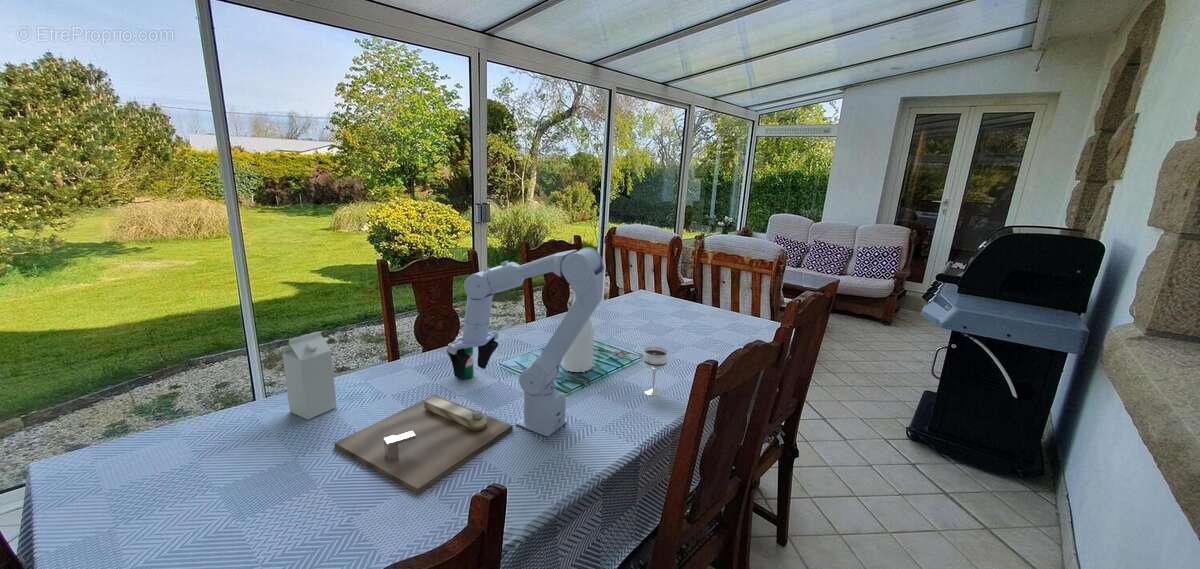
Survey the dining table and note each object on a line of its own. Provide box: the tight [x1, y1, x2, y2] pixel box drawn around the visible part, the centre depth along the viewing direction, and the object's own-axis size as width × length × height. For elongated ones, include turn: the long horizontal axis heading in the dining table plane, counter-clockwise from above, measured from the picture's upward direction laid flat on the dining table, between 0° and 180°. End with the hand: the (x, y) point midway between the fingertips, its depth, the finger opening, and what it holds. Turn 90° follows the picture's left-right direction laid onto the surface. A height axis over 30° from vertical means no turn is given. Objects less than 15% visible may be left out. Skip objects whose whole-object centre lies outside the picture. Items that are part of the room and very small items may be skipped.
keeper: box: [384, 431, 416, 461], centre depth 92 cm, size 6×2×4 cm, turn 130°
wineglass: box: [642, 346, 669, 396], centre depth 126 cm, size 7×7×12 cm
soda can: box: [454, 334, 475, 380], centre depth 130 cm, size 5×5×12 cm
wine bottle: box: [560, 291, 595, 373], centre depth 137 cm, size 10×10×30 cm
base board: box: [334, 394, 514, 495], centre depth 100 cm, size 26×26×1 cm
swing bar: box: [424, 396, 487, 431], centre depth 106 cm, size 18×4×3 cm, turn 60°
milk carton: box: [282, 331, 338, 421], centre depth 107 cm, size 7×7×19 cm
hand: (470, 372), depth 111 cm, fingers open, 7 cm apart
